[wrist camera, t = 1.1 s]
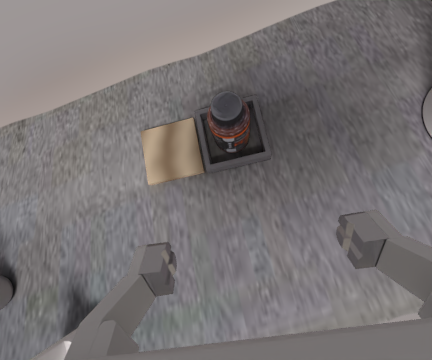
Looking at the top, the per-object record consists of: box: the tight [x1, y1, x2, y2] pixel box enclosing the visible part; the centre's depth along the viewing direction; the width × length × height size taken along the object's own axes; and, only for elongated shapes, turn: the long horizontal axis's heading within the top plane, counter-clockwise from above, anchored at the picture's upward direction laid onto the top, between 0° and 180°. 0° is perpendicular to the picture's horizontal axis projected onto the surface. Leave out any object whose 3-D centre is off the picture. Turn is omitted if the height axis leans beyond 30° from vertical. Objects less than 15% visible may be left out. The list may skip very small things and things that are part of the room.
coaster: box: [141, 118, 205, 185], centre depth 39 cm, size 10×10×1 cm
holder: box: [195, 95, 272, 173], centre depth 37 cm, size 11×11×2 cm
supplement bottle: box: [207, 91, 250, 153], centre depth 32 cm, size 6×6×11 cm
